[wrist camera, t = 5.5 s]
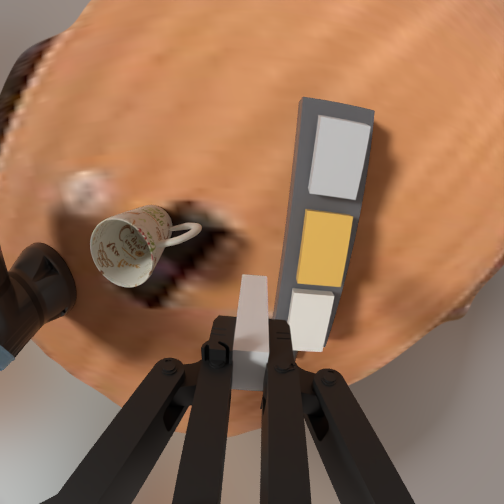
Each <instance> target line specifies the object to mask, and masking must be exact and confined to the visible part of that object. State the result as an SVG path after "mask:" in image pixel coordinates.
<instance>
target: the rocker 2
mask: <svg viewBox="0 0 504 504" xmlns="http://www.w3.org/2000/svg"><path fill="white" fill-rule="evenodd" d="M352 221H353V216H351V215H349V214H342V213H335V212H327V211H319V210H311V209H305V217H304V225H303V233H302V240H301V248H300V255H299V262H298V269H297V275H296V280H297V283H299V284H310V285H321V286H333V287H341V283H342V278H343V273H344V268H345V263H346V257H347V252H348V246H349V240H350V234H351V227H352Z"/></svg>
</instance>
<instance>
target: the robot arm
mask: <svg viewBox="0 0 504 504" xmlns="http://www.w3.org/2000/svg"><path fill="white" fill-rule="evenodd" d="M75 301H76V288H75V283H74V280H73V277H72V275H71V273H70V271H69V269H68V267H67V265H66V264H65V262H64V261H63V259H62V258H61V257H60V256H59V254H58V253H57V252H56V251H54V250H53V249H52V248H51V247H49V246H48V245H46V244H43V243H33V244H32V245H30V246H28V247H27V248H25V249H24V250H23V251H22V253H21V254H20V256H19V257H18V258H17V260H16V261H15V263H14V264H13V266H12V267H11V269H10V270H9V271H7V268H6V265H5V261H4V258H3V254H2V251H1V247H0V371H2V370H4V369H5V368H6V367H7V366H8V365H9V364H10V363H11V361H13V360H15V357H16V356H17V355H18V353H19V352H20V351H21V350H22V349H23V347H24V346H25V345H26V344H27V343H28V342H29V340H30V339H31V338H32V337H33V336H34V335H35V334H36V332H37V331H38V330H39V329H40V328H41V327H42V326H43V325H44V324H46V323H48V322H50V321H52V320H55V319H57V318H59V317H61V316H64V315H65V314H66V313H68V311H69V310H70V309H71V308H72V307H73V306H74V304H75ZM201 353H202V360H200V361H198V362H196V363H192V364H184V365H183V364H182V362H181V361H179V360H177V359H175V358H164V359H162V360H160V361H158V362H157V363H156V364H155V366H154V367H153V368H152V369H151V371H150V372H149V373H148V375H147V376H146V377H145V379H144V380H143V381H142V383H141V384H140V385H139V386H138V388H137V389H136V390H135V392H134V393H133V394H132V396H131V397H130V398H129V400H128V401H127V402H126V403H125V405H124V406H123V407H122V409H121V410H120V412H119V413H118V414H117V415H116V417H115V418H114V419H113V421H112V422H111V424H110V425H109V426H108V427H107V429H106V430H105V431H104V433H103V434H102V435H101V436H100V438H99V439H98V440H97V442H96V443H95V444H94V446H93V447H92V448H91V450H90V451H89V452H88V454H87V455H86V456H85V458H84V459H83V460H82V462H81V463H80V464H79V466H78V467H77V469H76V470H75V471H74V473H73V474H72V475H71V476H70V478H69V479H68V480H67V482H66V483H65V484H64V486H63V487H62V489H61V490H60V491H59V493H58V494H57V495H55V496H53V497H51V498H49V499H48V500H45V501H44V502H42V503H40V504H131V503H132V502H133V500H134V499H135V497H136V495H137V494H138V492H139V490H140V488H141V487H142V485H143V484H144V482H145V480H146V479H147V477H148V475H149V474H150V472H151V470H152V469H153V467H154V465H155V464H156V462H157V460H158V459H159V457H160V455H161V453H162V452H163V450H164V448H165V446H166V445H167V443H168V441H169V440H170V438H171V436H172V435H173V433H174V431H175V429H176V428H177V426H178V424H179V422H180V421H181V419H182V417H183V416H184V414H185V412H186V410H187V409H188V407H189V406H190V405H192V408H191V412H190V417H189V422H188V426H187V431H186V436H185V441H184V445H183V451H182V455H181V460H180V465H179V470H178V475H177V480H176V485H175V491H174V496H173V501H172V504H220V502H221V491H222V481H223V471H224V461H225V450H226V441H227V431H228V422H229V412H230V402H231V389H238V390H251V391H263V397H262V403H261V408H260V409H262V428H261V429H262V431H261V479H260V483H261V484H260V504H311V493H310V480H309V468H308V458H307V457H308V456H307V446H306V437H305V425H304V419H305V421H306V424H307V426H308V428H309V431H310V433H311V435H312V438H313V440H314V443H315V445H316V447H317V450H318V452H319V454H320V457H321V459H322V462H323V464H324V466H325V469H326V471H327V473H328V476H329V478H330V480H331V483H332V485H333V487H334V489H335V492H336V494H337V496H338V499H339V501H340V503H341V504H415V503H414V501H413V499H412V498H411V495H410V494H409V492H408V490H407V488H406V486H405V485H404V483H403V481H402V479H401V477H400V476H399V474H398V472H397V470H396V468H395V467H394V465H393V463H392V461H391V460H390V458H389V456H388V454H387V452H386V451H385V449H384V447H383V445H382V444H381V442H380V441H379V438H378V437H377V435H376V433H375V432H374V430H373V428H372V426H371V424H370V423H369V421H368V419H367V418H366V416H365V414H364V412H363V411H362V409H361V407H360V405H359V404H358V402H357V400H356V399H355V397H354V395H353V394H352V392H351V390H350V388H349V387H348V385H347V383H346V382H345V380H344V378H343V376H342V375H341V374H340V373H339V372H337V371H335V370H333V369H322V370H319V371H318V372H317V373H316V374H315V373H311V372H308V371H305V370H303V369H301V368H299V367H298V366H297V364H296V363H295V361H294V355H293V347H292V340H291V331H290V326H289V324H288V323H287V322H286V320H279V319H268V293H267V276H257V275H244V274H242V281H241V289H240V296H239V304H238V312H237V317H231V316H220V315H219V316H218V317H217V318H216V319H215V320H214V322H213V326H212V330H211V335H210V339H209V341H207V342H205V343H204V344H203V345H202V347H201Z"/></svg>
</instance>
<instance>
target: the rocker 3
mask: <svg viewBox="0 0 504 504" xmlns="http://www.w3.org/2000/svg"><path fill="white" fill-rule="evenodd" d="M333 301H334V295H333V293H332V291H320V290H309V289H297V288H293V289H292V296H291V302H290V309H289V315H288V321H287V323H288V324H289V326H290V331H291V340H292V347H293V350H296V351H314V352H322V350H323V345H324V341H325V337H326V333H327V329H328V324H329V320H330V315H331V310H332V306H333Z"/></svg>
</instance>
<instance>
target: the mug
mask: <svg viewBox="0 0 504 504" xmlns="http://www.w3.org/2000/svg"><path fill="white" fill-rule="evenodd" d="M188 229H191V230H190V231H188V232H187V233H185V234H183V235H180V236H178V237H174V238H170V237H171V235H172V231H177V230H188ZM201 230H202V226H201V225H200V224H198V223H184V224H180V225H176V226H172V221H171V218H170V216H169V215H168V213H167V212H166V211H165V210H164V209H162V208H161V207H159V206H156V205H146V206H143V207H140V208H137V209H133V210H130V211H127V212H124V213H121V214H118V215H115V216H112V217H110V218H107V219H105V220H103V221H102V222H100V223H99V224H98V225H97V226H96V228H95V229H94V231H93V233H92V236H91V241H90V249H91V254H92V258H93V260H94V263H95V265H96V266H97V268H98V270H99V271H100V272H101V273H102V275H103V276H104V277H106V278H107V279H108V280H109V281H111V282H112V283H114V284H116V285H119V286H122V287H136V286H139V285H141V284H143V283H144V282H145V281H146V280H147V279H148V278H149V277H150V275H151V274H152V272H153V270H154V268H155V266H156V264H157V262H158V260H159V258H160V256H161V254H162V252H163V250H164V249H165V247H167V246H172V245H176V244H180V243H182V242H185V241H187V240H189V239H191V238H193V237H194V236H196V235H197V234H199V233H200V231H201Z"/></svg>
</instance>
